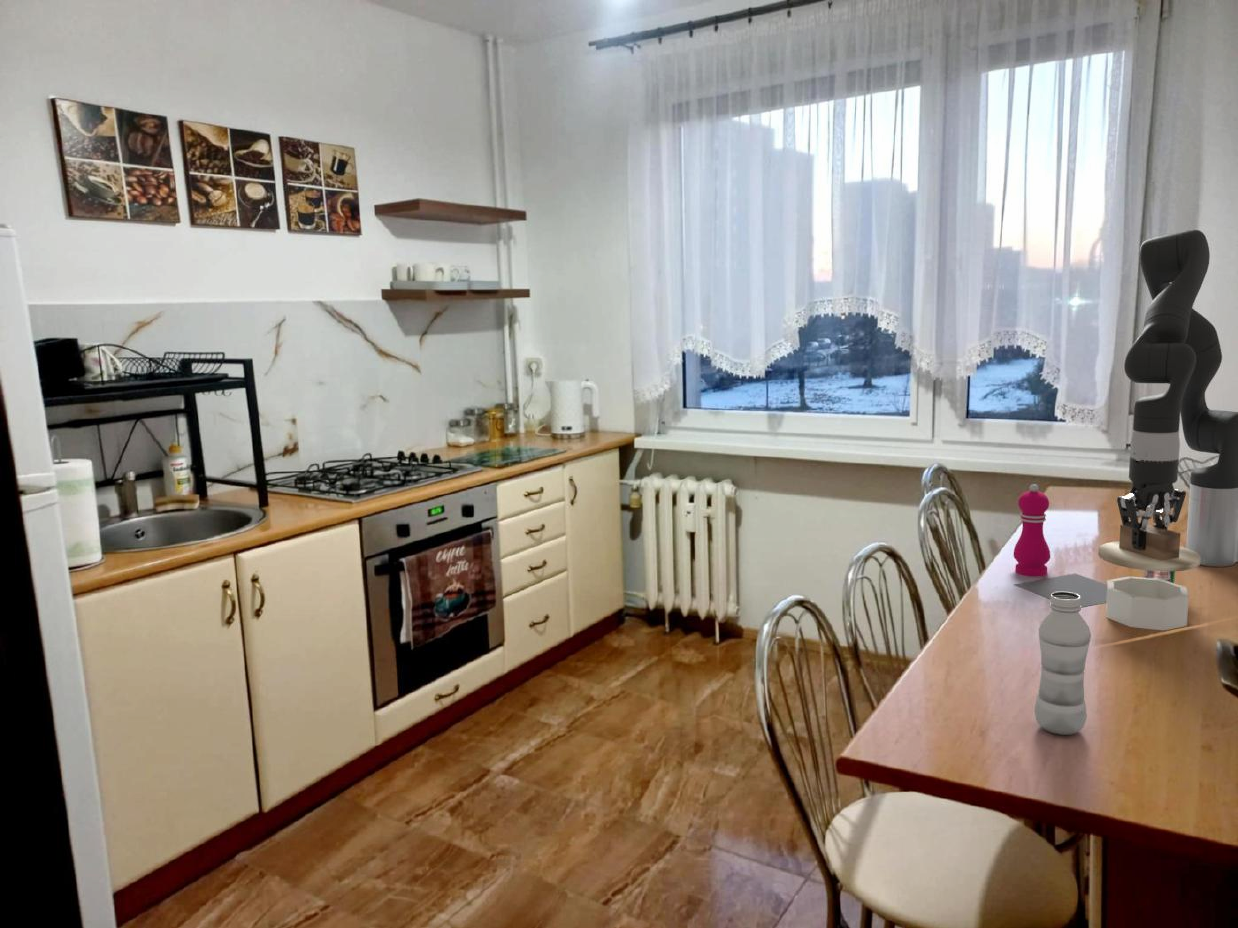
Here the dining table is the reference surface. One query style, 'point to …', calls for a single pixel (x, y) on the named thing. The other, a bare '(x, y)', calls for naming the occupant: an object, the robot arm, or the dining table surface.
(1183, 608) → the bowl
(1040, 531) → the pepper mill
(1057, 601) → the plastic bottle
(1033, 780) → the dining table surface
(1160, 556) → the lid
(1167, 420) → the robot arm
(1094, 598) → the mat
